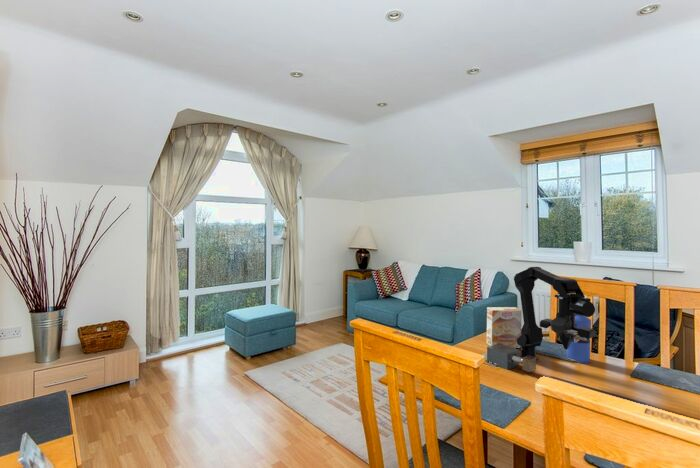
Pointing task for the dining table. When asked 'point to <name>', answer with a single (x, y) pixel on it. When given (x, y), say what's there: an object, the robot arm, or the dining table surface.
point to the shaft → (526, 362)
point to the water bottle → (580, 342)
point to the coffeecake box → (503, 326)
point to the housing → (502, 355)
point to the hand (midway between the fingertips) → (566, 349)
